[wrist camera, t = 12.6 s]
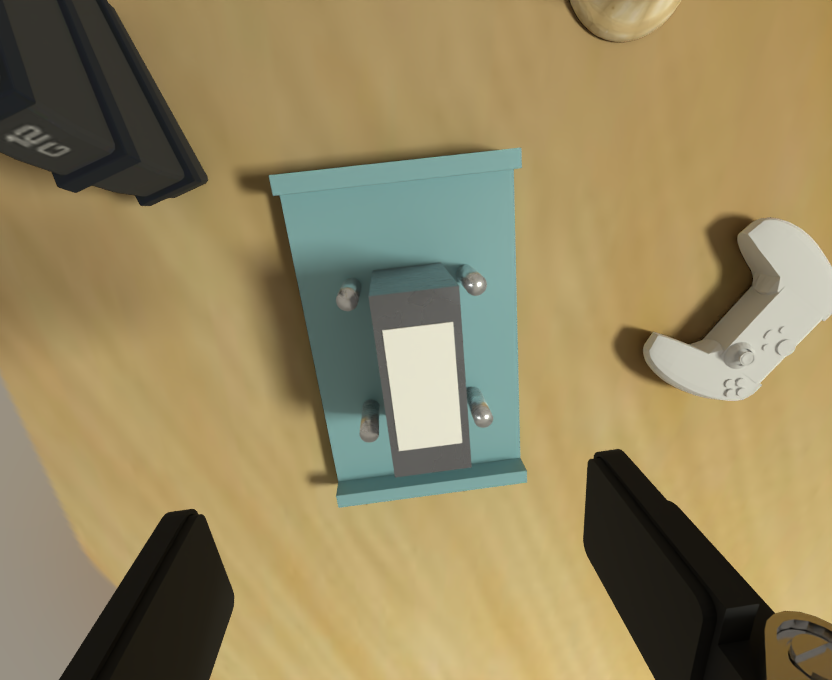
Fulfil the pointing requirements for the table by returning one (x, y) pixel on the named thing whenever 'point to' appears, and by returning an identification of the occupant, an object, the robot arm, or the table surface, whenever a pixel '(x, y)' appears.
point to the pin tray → (399, 247)
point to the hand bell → (623, 17)
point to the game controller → (753, 317)
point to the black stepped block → (87, 103)
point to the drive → (421, 367)
